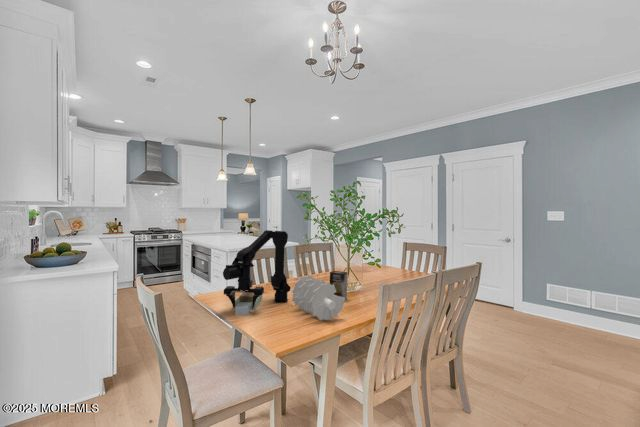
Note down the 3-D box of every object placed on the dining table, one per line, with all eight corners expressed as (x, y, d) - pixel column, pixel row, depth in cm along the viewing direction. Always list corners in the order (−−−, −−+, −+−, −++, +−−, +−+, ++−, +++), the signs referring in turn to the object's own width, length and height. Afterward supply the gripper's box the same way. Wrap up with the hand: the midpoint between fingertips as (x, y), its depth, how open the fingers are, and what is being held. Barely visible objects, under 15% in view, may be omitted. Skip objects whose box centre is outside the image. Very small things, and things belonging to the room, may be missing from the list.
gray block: (250, 312, 152) (250, 303, 152) (247, 316, 146) (247, 307, 146) (238, 312, 152) (238, 303, 152) (235, 316, 146) (235, 307, 146)
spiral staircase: (323, 332, 138) (295, 313, 158) (350, 310, 146) (321, 294, 167) (310, 300, 132) (283, 284, 153) (339, 278, 141) (310, 266, 161)
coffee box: (328, 300, 173) (329, 272, 173) (332, 297, 179) (333, 270, 179) (343, 302, 170) (344, 273, 170) (347, 299, 176) (347, 271, 176)
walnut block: (255, 303, 163) (255, 292, 162) (252, 308, 156) (252, 296, 155) (242, 303, 163) (243, 292, 162) (239, 307, 156) (239, 296, 155)
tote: (262, 300, 171) (262, 293, 170) (255, 310, 154) (255, 302, 153) (241, 300, 171) (241, 292, 171) (232, 310, 154) (232, 302, 154)
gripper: (266, 273, 157) (265, 303, 157) (230, 272, 157) (230, 302, 157) (261, 278, 146) (261, 310, 146) (223, 277, 146) (223, 309, 146)
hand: (243, 307), depth 149 cm, fingers open, 9 cm apart
